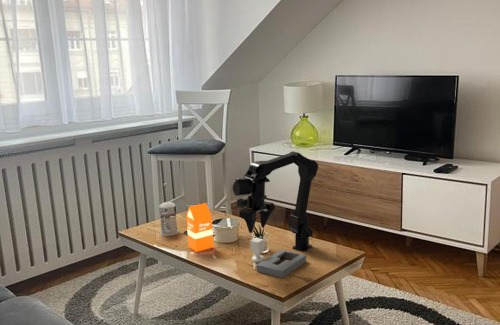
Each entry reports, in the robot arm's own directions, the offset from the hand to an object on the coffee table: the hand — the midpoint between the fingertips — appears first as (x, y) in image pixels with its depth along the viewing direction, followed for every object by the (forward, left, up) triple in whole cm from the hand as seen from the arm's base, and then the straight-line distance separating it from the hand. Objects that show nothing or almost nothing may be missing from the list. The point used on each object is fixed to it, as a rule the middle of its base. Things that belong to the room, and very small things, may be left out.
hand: (256, 230), depth 211 cm
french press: (-6, -59, -14) cm, 61 cm away
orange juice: (+1, -31, -14) cm, 34 cm away
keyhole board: (0, +12, -14) cm, 18 cm away
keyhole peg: (0, 0, -14) cm, 14 cm away
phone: (-11, -43, -14) cm, 47 cm away
